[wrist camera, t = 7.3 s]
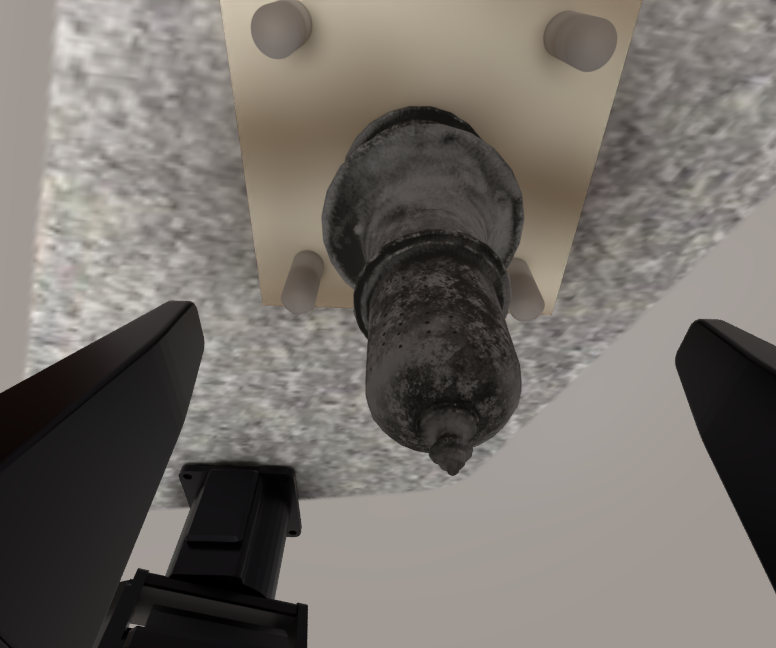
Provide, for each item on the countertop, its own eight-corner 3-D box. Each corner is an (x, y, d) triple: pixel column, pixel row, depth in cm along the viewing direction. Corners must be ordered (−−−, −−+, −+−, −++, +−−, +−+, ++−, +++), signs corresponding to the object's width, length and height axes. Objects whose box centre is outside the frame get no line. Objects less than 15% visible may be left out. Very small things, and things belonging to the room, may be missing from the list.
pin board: (545, 301, 21) (569, 353, 18) (267, 292, 21) (248, 342, 18) (640, -47, 14) (704, -51, 11) (220, -66, 14) (176, -75, 11)
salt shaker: (537, 172, 17) (742, 453, 7) (425, 287, 19) (461, 603, 10) (404, 52, 15) (437, 216, 5) (300, 199, 17) (187, 493, 8)
